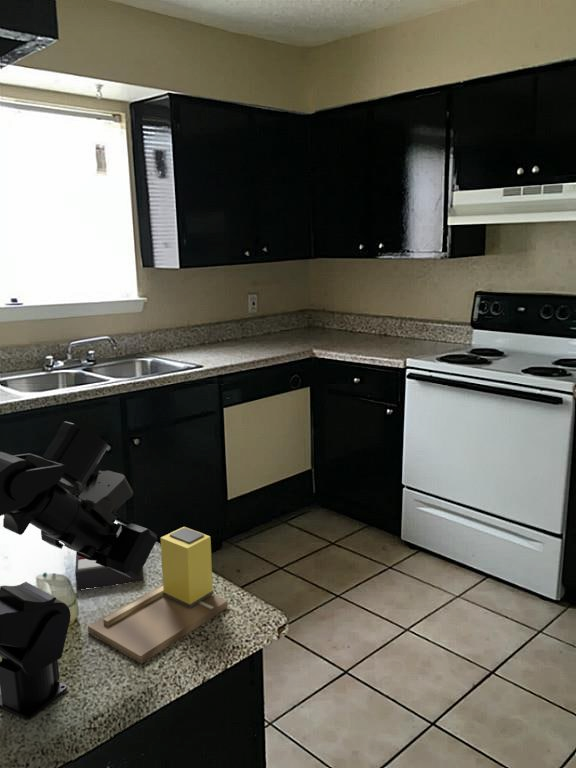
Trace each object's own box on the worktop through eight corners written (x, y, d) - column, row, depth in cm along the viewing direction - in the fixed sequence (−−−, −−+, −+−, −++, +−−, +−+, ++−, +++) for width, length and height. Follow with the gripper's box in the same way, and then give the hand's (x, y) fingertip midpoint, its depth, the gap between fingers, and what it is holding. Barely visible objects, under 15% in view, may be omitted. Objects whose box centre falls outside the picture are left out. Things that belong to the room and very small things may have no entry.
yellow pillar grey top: (190, 608, 102) (187, 547, 100) (162, 595, 106) (159, 535, 103) (213, 593, 106) (211, 534, 104) (186, 581, 110) (183, 524, 107)
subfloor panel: (141, 663, 91) (140, 650, 91) (88, 632, 98) (87, 620, 98) (227, 607, 105) (227, 596, 104) (175, 584, 112) (174, 573, 111)
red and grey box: (136, 526, 126) (142, 558, 112) (138, 547, 127) (143, 582, 113) (76, 534, 123) (74, 568, 109) (78, 555, 124) (76, 592, 110)
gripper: (141, 472, 83) (205, 524, 94) (51, 448, 93) (118, 497, 104) (94, 555, 78) (168, 599, 89) (6, 519, 89) (81, 562, 100)
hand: (133, 560), depth 96 cm, fingers closed
